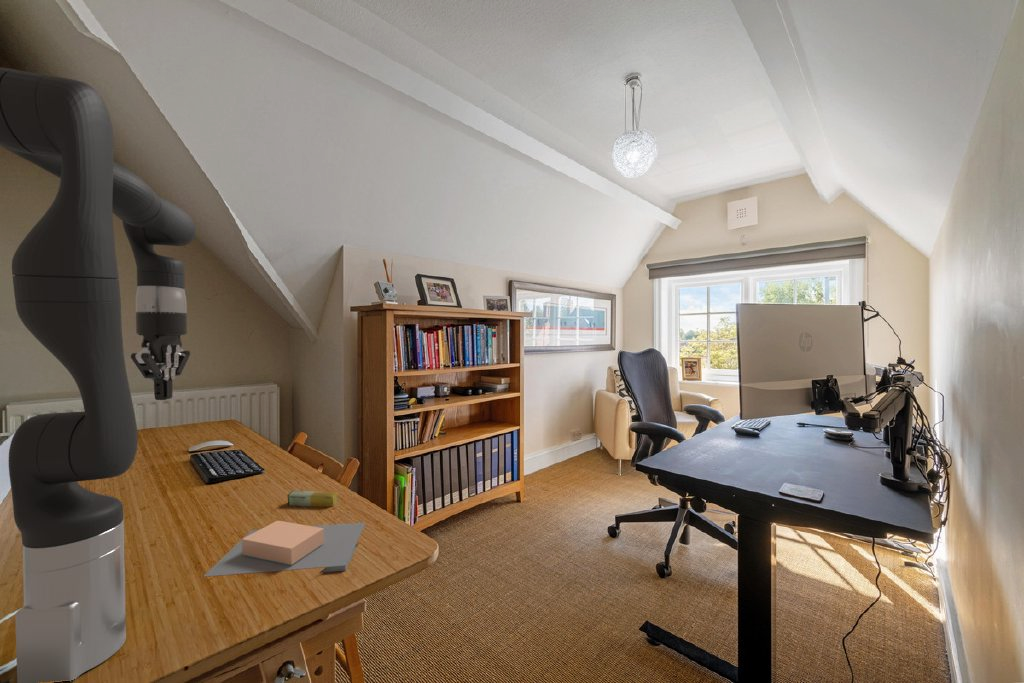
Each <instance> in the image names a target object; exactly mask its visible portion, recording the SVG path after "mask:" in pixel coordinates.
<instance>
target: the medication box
mask: <svg viewBox="0 0 1024 683" xmlns="http://www.w3.org/2000/svg"><path fill="white" fill-rule="evenodd" d="M338 504H339V503H338V492H337V491H335V492H334V491H311V490H292V491H290V492H289V493H288V494H287V505H288V506H301V507H303V506H304V507H326V508H327V507H330V508H333V507H334V506H336V507H338Z"/></svg>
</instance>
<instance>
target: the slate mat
mask: <svg viewBox="0 0 1024 683" xmlns="http://www.w3.org/2000/svg"><path fill="white" fill-rule="evenodd" d="M366 524H367V522H355V523H354V522H353V523H351V522H350V523H338V524H336V523H335V524H323V525H312V526H313V527H318V528H324V543H323V544H322V546H320V547H319V548H317V549H316V550H314V551H313V552H311V553H310V554H308V555H307V556H305V557H304V558H302V559H301V560H299V561H298V562H296V563H295V564H293V565H292V566H291V565H286V564H282V563H277V562H272V561H267V560H262V559H258V558H253V557H248V556H244V555H242V539H241V540H240V541H239V542H238V543H237V544H235V545H234V547H232V548H231V549H230V550H229V551H228V552H227V553H226V554H225V555H223V557H222V558H221V559H220V560H218V561H217V563H215V564H214V565H213V566H212V567H211V569H209V570H208V571H207V572H206V573H205V574H204V575H203V576H202V577H203V578H205V577H207V578H208V577H219V576H230V575H243V574H256V573H257V574H258V573H269V572H280V571H281V572H282V571H283V572H285V571H293V570H294V571H295V570H305V569H306V570H308V569H317V568H318V569H320V568H323V569H322V570H321V571H319V572H318V573H319V574H320V573H321V574H322V573H334V572H345V571H346V570H347V568H348V566H349V564H350V562H351V560H352V558H353V556H354V554H355V551H356V549H357V548H358V545H359V543H358V541H359V538H360V537H361V534H362V532H363V530H364V528H365V526H366ZM260 529H261V528H260ZM260 529H251V530H250V531H249V532H248V533H247V534H246V535H245V536H244V537H243V538H245V537H247V536H249V535H251V534H253V533H255V532H256V531H258V530H260Z"/></svg>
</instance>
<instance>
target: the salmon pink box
mask: <svg viewBox="0 0 1024 683" xmlns="http://www.w3.org/2000/svg"><path fill="white" fill-rule="evenodd" d="M313 526H314V525H306V524H300V523H295V522H289V521H284V520H283V521H282V520H275V521H274V522H272V523H270V524H268V525H266V526H264V527H263V528H260V530H259V529H257V530H258V531H256V532H255V533H253V534H251V535H249V536H247V537H245V536H244V537H245V538H244V537H242V539H241V540H242V555H244V556H248V557H253V558H258V559H262V560H267V561H272V562H277V563H282V564H286V565H291V566H292V565H293V564H295V563H296V562H298V561H299V560H301V559H302V558H304V557H305V556H307V555H308V554H310V553H311V552H313V551H314V550H316V549H317V548H319V547H320V546H322V544H323V543H324V528H318V527H313Z"/></svg>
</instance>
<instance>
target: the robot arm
mask: <svg viewBox="0 0 1024 683" xmlns="http://www.w3.org/2000/svg"><path fill="white" fill-rule="evenodd" d="M113 132H114V130H113V123H112V120H111V115H110V112H109V109H108V107H107V105H106V102H105V100H104V98H103V97H102V96H101V94H100V93H99V91H98V90H96V88H94V87H92V85H90V84H88V83H86V82H84V81H80V80H77V79H71V78H66V77H61V76H57V75H48V74H45V73H43V74H42V73H38V72H30V71H26V70H25V71H24V70H19V69H14V68H6V67H0V147H1V148H4V149H5V150H7V151H9V152H11V153H12V154H14V155H16V156H18V157H19V158H22V159H23V160H26V161H28V162H29V163H31V164H33V165H35V166H37V167H38V168H41V169H42V170H44V171H46V172H48V173H49V174H51V175H53V176H56V177H57V178H59V180H60V181H59V187H58V191H57V194H56V196H55V198H54V200H53V202H52V203H51V205H50V207H48V209H47V210H46V211H45V213H44V215H43V216H42V217H41V218H40V219H39V220H38V221H37V223H35V225H34V226H33V227H32V228H31V229H30V230H29V232H28V233H27V234H26V236H25V237H24V238H23V240H22V241H21V242H20V244H19V245H18V246H17V249H16V250H15V252H14V254H13V256H12V260H11V275H12V285H13V293H14V294H13V295H14V302H15V309H16V313H17V315H18V317H19V320H20V321H21V322H22V324H23V325H24V326H25V328H26V329H27V330H28V332H30V333H31V334H32V336H33V337H34V338H35V339H37V340H38V342H39V343H40V344H41V345H42V346H43V347H44V348H45V349H46V350H48V351H49V352H50V353H51V354H52V355H53V356H54V357H55V358H56V360H58V361H59V362H60V363H61V365H63V367H64V368H65V369H66V370H67V371H68V372H69V374H70V375H71V377H72V378H73V380H74V381H75V384H76V386H77V388H78V390H79V394H80V397H81V400H82V401H81V402H82V404H83V411H70V412H69V411H68V412H67V411H66V412H50V413H44V414H43V413H41V414H37V415H34V416H31V417H30V418H28V419H26V420H24V421H23V422H22V423H21V424H20V425H19V426H18V427H17V428H16V431H15V433H14V434H13V436H12V438H11V440H10V444H9V445H10V446H9V449H8V475H9V482H10V490H11V498H12V500H11V501H12V508H13V518H14V523H15V525H16V527H17V528H18V530H19V532H20V533H21V540H22V541H21V544H22V578H23V580H22V582H23V585H22V586H23V607H21V608H20V609H19V610H17V611H16V612H15V614H14V617H15V640H16V641H15V644H16V645H15V647H16V652H15V653H16V679H17V681H16V682H17V683H38V682H39V683H40V682H50V681H61V680H69V681H70V682H72V681H71V680H73V681H75V680H76V679H77V678H78V677H79V676H81V675H82V674H84V673H85V672H87V671H89V670H91V669H93V668H95V667H97V666H99V665H100V664H102V663H104V662H105V661H106V660H109V658H111V657H112V656H113V655H114V654H116V653H117V652H118V651H119V650H120V649H121V648H122V646H123V645H124V643H125V642H126V640H127V628H126V627H127V625H126V624H127V623H126V621H127V620H126V618H127V617H126V588H125V587H126V578H125V577H126V576H125V531H124V530H125V529H124V528H125V527H124V523H125V522H124V505H123V502H122V501H121V500H120V499H118V498H116V497H114V496H111V495H104V494H101V493H97V492H93V491H91V490H88V489H87V488H85V487H83V486H82V485H80V484H79V482H85V481H94V480H95V481H96V480H104V479H110V478H115V477H118V476H121V475H123V474H124V473H126V472H127V471H128V470H129V469H130V468H131V467H132V465H133V464H134V461H135V459H136V455H137V451H138V450H137V449H138V443H139V442H138V441H139V439H138V426H137V420H136V414H135V408H134V405H133V404H134V403H133V399H132V398H133V397H132V394H131V393H132V392H131V389H130V384H129V379H128V372H127V369H126V368H127V367H126V362H125V353H124V352H125V351H124V342H123V330H122V329H123V328H122V327H123V326H122V302H121V288H120V286H121V285H120V277H119V269H118V261H117V255H116V244H115V233H114V231H115V230H114V218H113V214H114V215H115V217H117V218H118V219H120V220H121V221H122V226H123V230H124V233H125V236H126V238H127V241H128V242H129V243H128V244H129V245H130V248H131V251H132V253H133V257H134V261H135V264H136V286H137V287H136V294H135V328H136V329H135V331H136V334H137V335H138V336H142V337H143V338H142V342H141V345H140V346H141V349H140V350H139V351H138V352H133V353H131V355H130V358H131V360H132V362H133V363H134V364H135V366H136V367H137V369H138V370H139V371H140V373H141V375H142V376H143V378H144V379H150V380H151V381H153V390H154V391H153V393H154V394H153V395H154V399H155V400H156V401H166V400H170V399H172V398H173V393H174V392H173V380H175V379H176V377H177V376H181V374H182V372H183V370H184V368H185V366H186V364H187V362H188V360H189V358H190V355H191V352H190V350H184V348H182V347H183V342H182V340H181V336H185V335H187V334H188V318H187V317H188V308H187V306H188V305H187V302H188V301H187V297H186V289H185V266H184V265H185V264H184V263H183V262H182V261H181V260H180V259H177V258H173V257H169V256H164V255H160V254H158V253H157V252H156V250H155V249H154V248H155V247H154V245H155V246H170V247H184V246H187V245H190V244H191V243H192V242H193V240H195V237H196V233H197V230H196V226H195V223H194V220H193V219H192V217H191V216H190V215H189V214H188V213H187V212H186V211H185V210H184V209H183V208H181V207H179V206H178V205H176V204H174V203H173V202H171V201H169V200H167V199H165V198H164V197H161V196H160V195H158V194H157V193H156V192H155V191H154V190H153V189H152V188H151V187H150V185H149V184H147V182H145V181H144V180H143V179H142V178H141V177H139V175H137V174H136V173H135V172H133V171H132V170H130V169H128V168H126V167H124V166H122V165H121V164H119V163H117V162H115V161H114V160H115V159H114V158H115V145H114V144H115V142H114V133H113ZM74 679H75V680H74Z"/></svg>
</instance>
